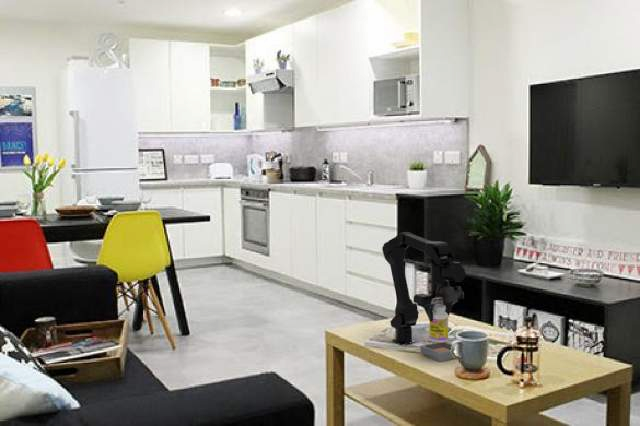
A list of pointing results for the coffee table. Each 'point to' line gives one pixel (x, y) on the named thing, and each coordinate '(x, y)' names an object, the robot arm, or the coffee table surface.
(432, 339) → the supplement bottle
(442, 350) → the walled box
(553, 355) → the coffee table surface
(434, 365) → the coffee table surface
